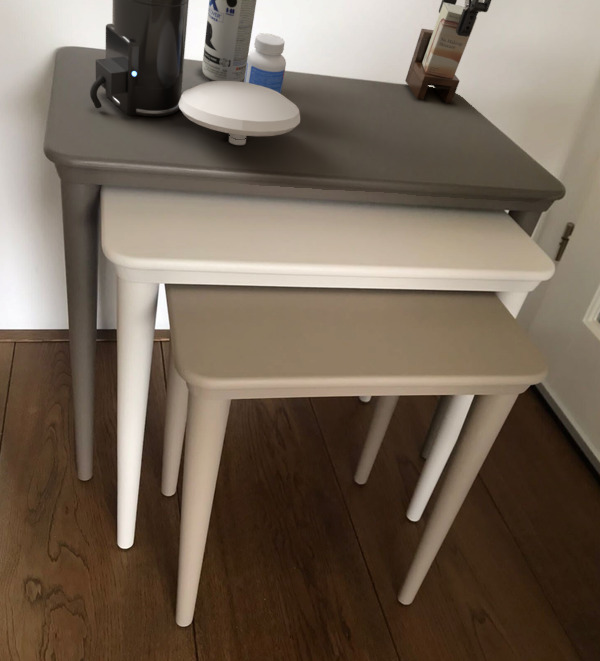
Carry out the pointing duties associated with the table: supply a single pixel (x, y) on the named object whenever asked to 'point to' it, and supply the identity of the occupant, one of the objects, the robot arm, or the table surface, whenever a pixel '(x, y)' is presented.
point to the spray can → (228, 39)
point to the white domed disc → (239, 109)
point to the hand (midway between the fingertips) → (453, 24)
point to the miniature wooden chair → (421, 79)
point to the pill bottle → (266, 62)
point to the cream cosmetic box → (445, 43)
